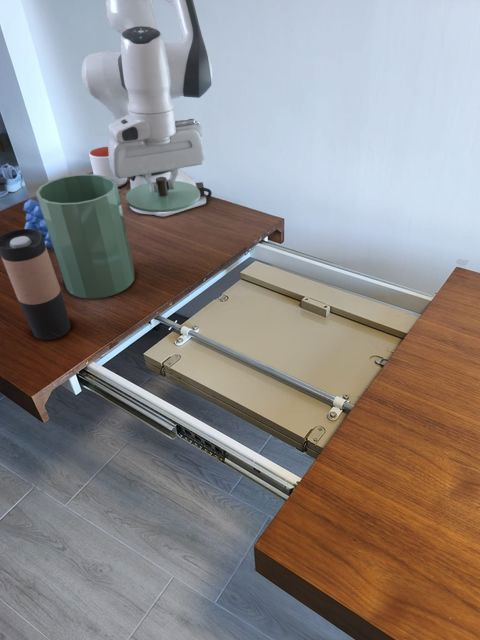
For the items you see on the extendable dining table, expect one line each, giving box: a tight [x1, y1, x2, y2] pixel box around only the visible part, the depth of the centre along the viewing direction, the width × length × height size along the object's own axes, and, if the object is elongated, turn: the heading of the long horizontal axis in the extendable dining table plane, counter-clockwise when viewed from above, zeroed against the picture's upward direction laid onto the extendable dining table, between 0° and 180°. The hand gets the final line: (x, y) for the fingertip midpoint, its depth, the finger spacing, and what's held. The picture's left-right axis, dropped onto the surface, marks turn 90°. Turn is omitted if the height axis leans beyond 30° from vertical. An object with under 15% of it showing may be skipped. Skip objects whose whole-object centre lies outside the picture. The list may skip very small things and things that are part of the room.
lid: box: [125, 177, 200, 212], centre depth 105 cm, size 16×16×5 cm
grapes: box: [22, 198, 54, 250], centre depth 116 cm, size 12×7×12 cm, turn 48°
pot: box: [35, 173, 136, 300], centre depth 102 cm, size 15×15×22 cm
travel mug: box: [0, 228, 71, 341], centre depth 88 cm, size 8×8×20 cm
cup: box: [88, 146, 128, 188], centre depth 149 cm, size 10×10×10 cm
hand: (162, 190), depth 105 cm, fingers closed on lid, 2 cm apart
